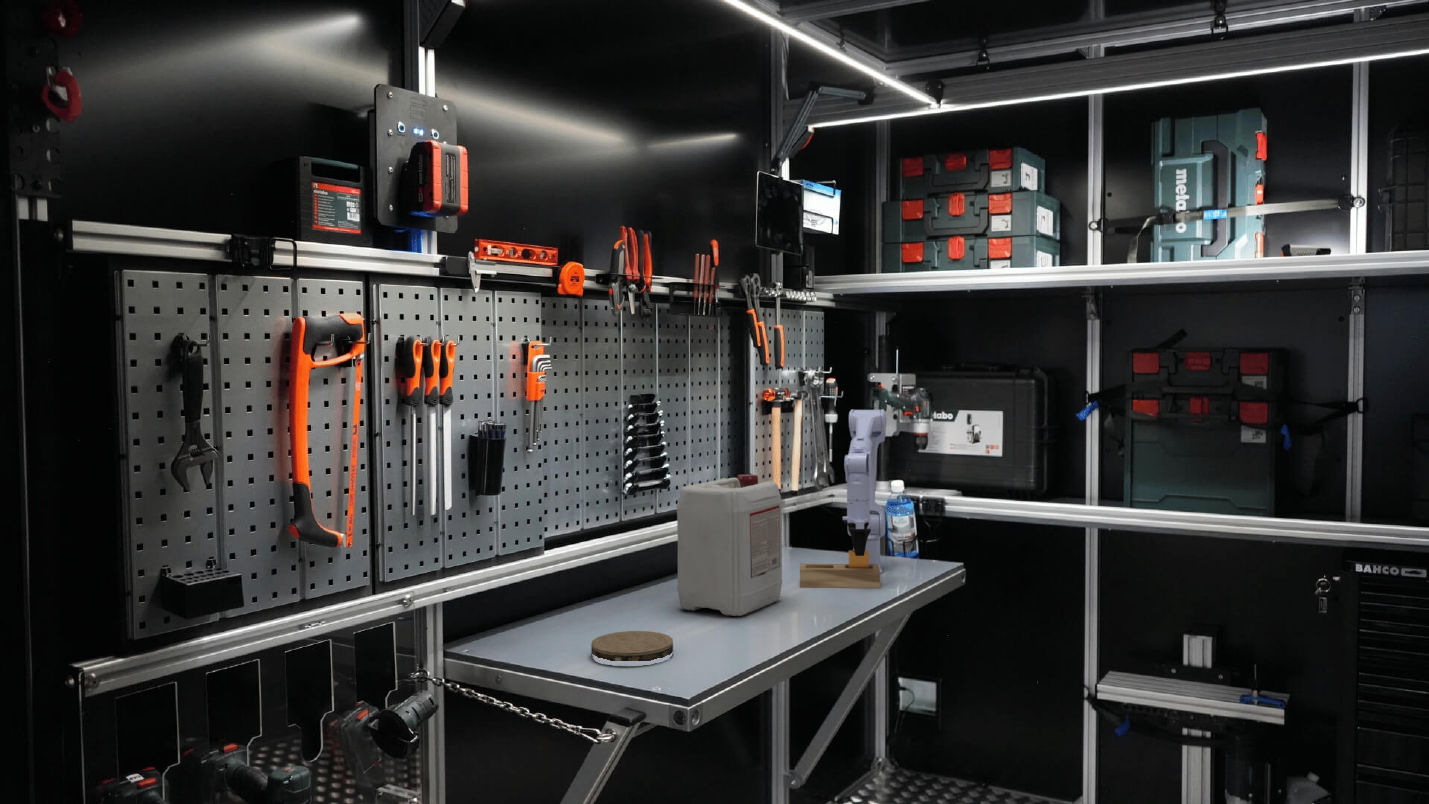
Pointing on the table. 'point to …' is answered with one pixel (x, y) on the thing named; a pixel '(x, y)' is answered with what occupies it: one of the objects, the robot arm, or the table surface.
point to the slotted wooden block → (839, 576)
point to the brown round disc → (632, 646)
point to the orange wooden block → (858, 560)
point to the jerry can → (729, 545)
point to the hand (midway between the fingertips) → (858, 552)
